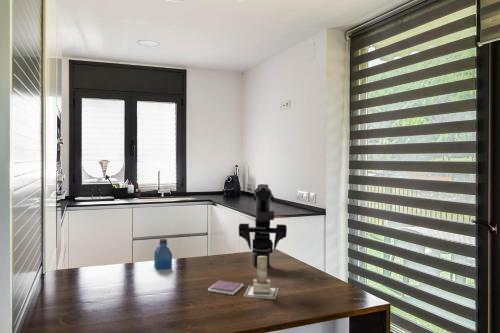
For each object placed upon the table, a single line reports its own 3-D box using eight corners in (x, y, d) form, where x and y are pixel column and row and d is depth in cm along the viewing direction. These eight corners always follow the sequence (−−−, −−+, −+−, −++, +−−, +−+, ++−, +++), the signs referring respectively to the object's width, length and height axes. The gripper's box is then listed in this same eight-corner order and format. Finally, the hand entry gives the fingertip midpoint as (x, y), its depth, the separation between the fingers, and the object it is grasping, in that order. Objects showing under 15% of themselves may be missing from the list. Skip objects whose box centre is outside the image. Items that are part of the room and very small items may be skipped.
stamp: (253, 288, 142) (254, 254, 142) (269, 288, 142) (270, 255, 142) (253, 294, 136) (253, 259, 136) (270, 294, 136) (270, 259, 136)
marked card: (249, 285, 146) (249, 285, 146) (278, 288, 144) (278, 287, 144) (243, 296, 135) (243, 295, 135) (275, 298, 133) (275, 298, 133)
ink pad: (219, 282, 149) (219, 279, 149) (243, 286, 145) (243, 282, 145) (207, 291, 139) (207, 287, 139) (233, 295, 136) (233, 291, 136)
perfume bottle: (154, 266, 169) (154, 238, 169) (168, 264, 171) (168, 237, 171) (157, 270, 163) (157, 241, 163) (171, 268, 166) (172, 240, 166)
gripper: (239, 203, 152) (237, 236, 141) (286, 204, 151) (288, 238, 141) (240, 219, 160) (238, 252, 149) (285, 220, 160) (286, 254, 149)
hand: (262, 249), depth 147 cm, fingers open, 9 cm apart
